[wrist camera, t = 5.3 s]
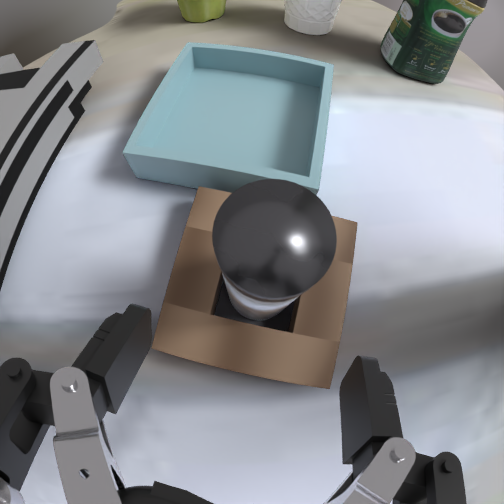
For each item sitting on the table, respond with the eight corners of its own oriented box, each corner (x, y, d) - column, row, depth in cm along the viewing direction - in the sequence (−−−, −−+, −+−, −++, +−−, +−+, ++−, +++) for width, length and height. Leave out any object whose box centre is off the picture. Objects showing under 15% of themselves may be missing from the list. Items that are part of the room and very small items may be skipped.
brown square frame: (347, 233, 24) (357, 222, 22) (320, 384, 21) (329, 388, 18) (202, 201, 25) (198, 186, 22) (160, 347, 21) (151, 348, 19)
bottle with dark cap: (295, 267, 23) (342, 194, 12) (282, 327, 22) (326, 309, 10) (235, 253, 23) (230, 168, 12) (221, 312, 22) (197, 279, 11)
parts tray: (325, 91, 29) (333, 64, 25) (307, 212, 25) (318, 189, 21) (191, 69, 29) (187, 42, 26) (136, 177, 25) (122, 152, 21)
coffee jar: (428, 57, 33) (473, -30, 15) (446, 92, 31) (505, -4, 13) (372, 41, 33) (408, -61, 15) (386, 74, 31) (437, -42, 13)
